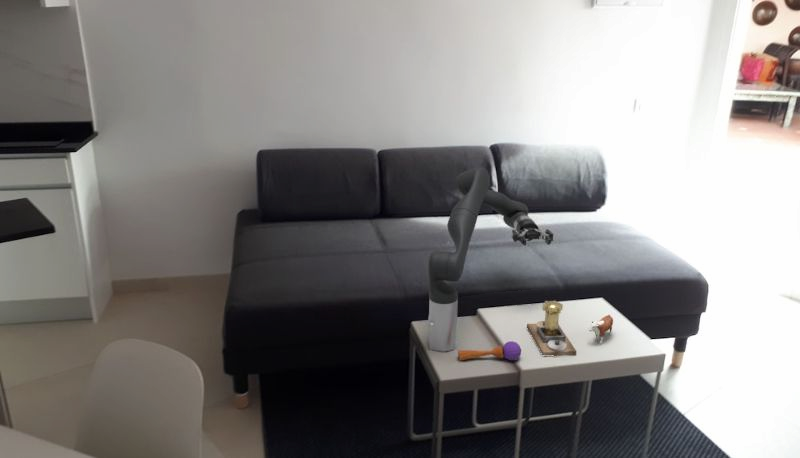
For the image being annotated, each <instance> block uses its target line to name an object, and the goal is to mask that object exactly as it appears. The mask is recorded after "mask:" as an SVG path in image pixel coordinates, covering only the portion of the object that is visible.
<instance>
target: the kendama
mask: <svg viewBox="0 0 800 458" xmlns="http://www.w3.org/2000/svg"><path fill="white" fill-rule="evenodd" d="M457 351H458V359H459V361H466V360H471V359H474V358H480V357H485V356H489V355H490V356H491V355H492V356H495V357H498V358H501V359H503V358H505V359H507V361H515V359H516V360H518V359H519V358H520V356H521V354H522V348H521V345H520V344H519V343H517V342H516V341H513V340H512V341H507V342H505V343H504V344H503V346H502V344H500V345H498V346H497V347H495V348H493V349H491V350H465V349H464V350H463V349H458V350H457ZM517 358H518V359H517Z"/></svg>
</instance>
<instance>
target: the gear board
mask: <svg viewBox="0 0 800 458" xmlns="http://www.w3.org/2000/svg"><path fill="white" fill-rule="evenodd" d="M544 327H545V320H540V321H537V322H536V323H526V329H527V328H528V329H527V330H529V331H530V333H531V334H530V333H529V334H530V336H531V335H532V336H531V338H532V337H533V338H532V339H534V340H535V342H536V343H535V342H534V343H535V345H536V344H537V345H536V347H537V346H538V347H537V348H539V349H540V350H539V349H538V350H539V352H540V351H541V352H540V354H541V353H542V354H541V356H542V355H554V356H553V357H558V356H557V355H569V356H577V350H576V348H575V347H574V345H573V344H572V342H571V341H570V339H569V338H568V336H567V334H566V333H565V332H564V330H563V329H562V327H561V326H560V325H559V323H558V332H557V336H545V335H544ZM529 331H528V332H529ZM534 340H533V341H534Z"/></svg>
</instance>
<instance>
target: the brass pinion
mask: <svg viewBox="0 0 800 458" xmlns="http://www.w3.org/2000/svg"><path fill="white" fill-rule="evenodd" d="M563 307H564V305H563V303H560V302H558V301H557V300H545V301H544V303H543V304H542V311H545V313H544V321H545V327H544V335H545V336H557V332H558V324H559V319H560V314H561V311H563Z"/></svg>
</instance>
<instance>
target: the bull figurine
mask: <svg viewBox="0 0 800 458" xmlns="http://www.w3.org/2000/svg"><path fill="white" fill-rule="evenodd" d="M613 325H614V318H613V317H612V316H611V314H608V315H605V316H603V317H602V318H601V319H600V320H598V321H591V324H590V327H588V330H589V332H593V333H595V338H594V341H598V340H599V343H598V344H599V345H602V344H603V340H604V336H605V333H606V332H608V331H609V333H608V336H609V337H610V336H612V330H613ZM599 337H600V339H599Z"/></svg>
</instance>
